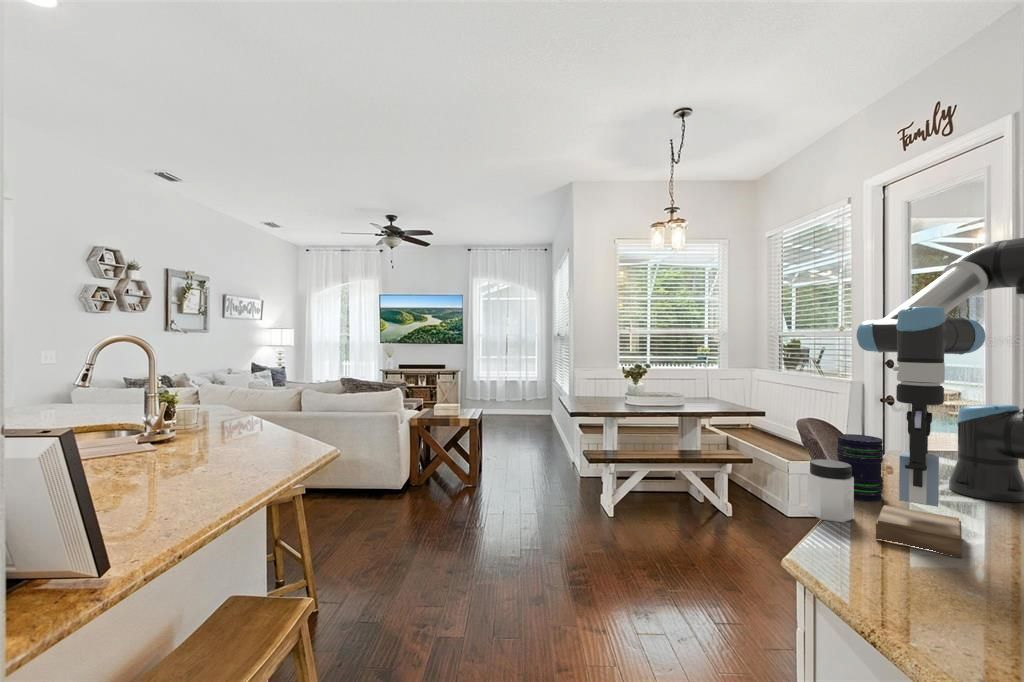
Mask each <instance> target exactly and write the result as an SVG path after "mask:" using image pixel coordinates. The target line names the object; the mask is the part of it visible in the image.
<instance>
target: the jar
mask: <svg viewBox="0 0 1024 682" xmlns="http://www.w3.org/2000/svg"><path fill="white" fill-rule="evenodd" d="M854 501H855V500H854V477H852V466H851V465H850V464H848V463H845V462H840V461H838V460H833V459H825V458H823V459H821V458H820V459H812V460H810V461H809V471H808V472H807V513H808V514H810V515H812V516H814V517H815V518H817V519H819V520H821V521H828V522H836V523H837V522H838V523H847V522H848V521H852V520H853V519H854V517H855V516H854V515H855V514H854V510H855V509H854V504H855V502H854Z"/></svg>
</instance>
